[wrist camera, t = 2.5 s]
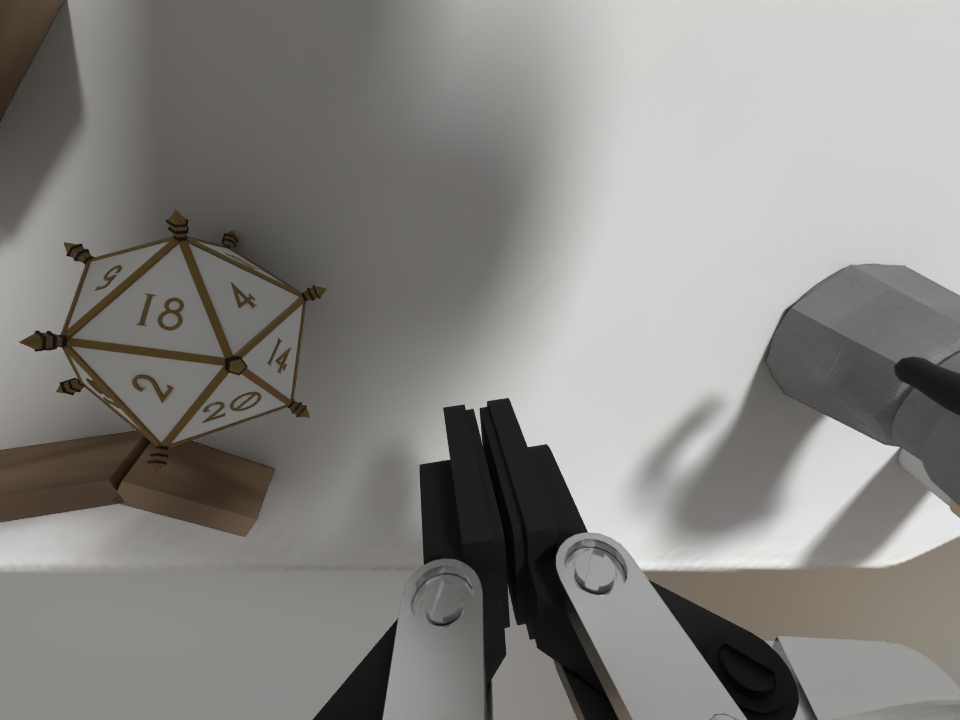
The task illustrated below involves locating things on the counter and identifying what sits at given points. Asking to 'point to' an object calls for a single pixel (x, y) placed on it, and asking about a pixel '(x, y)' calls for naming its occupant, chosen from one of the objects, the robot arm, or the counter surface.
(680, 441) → the counter surface
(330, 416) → the counter surface
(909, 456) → the coffee cup
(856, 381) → the coffeepot
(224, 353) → the game die
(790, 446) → the counter surface
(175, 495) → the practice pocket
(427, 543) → the robot arm
